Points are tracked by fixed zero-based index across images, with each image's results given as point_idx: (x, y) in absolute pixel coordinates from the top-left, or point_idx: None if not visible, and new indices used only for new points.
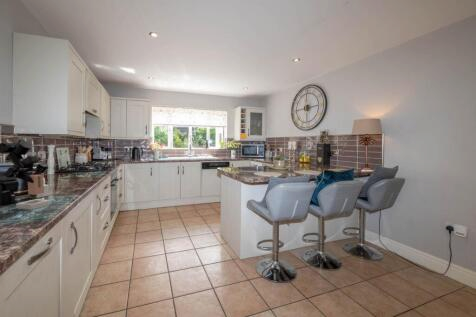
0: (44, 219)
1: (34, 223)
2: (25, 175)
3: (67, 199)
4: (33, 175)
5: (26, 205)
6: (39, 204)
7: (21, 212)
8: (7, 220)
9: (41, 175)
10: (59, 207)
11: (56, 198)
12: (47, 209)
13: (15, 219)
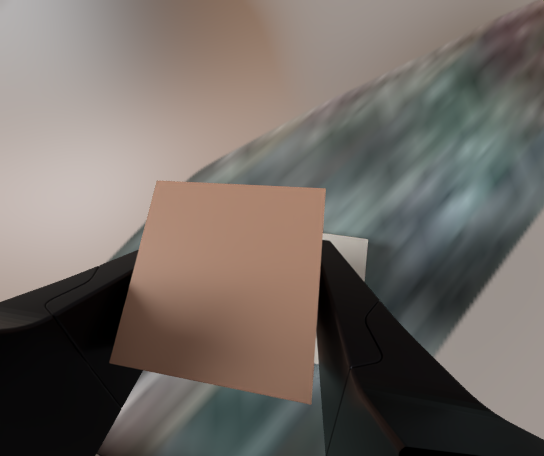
0: (470, 63)
1: (523, 56)
2: (420, 366)
3: None
4: (236, 302)
5: (363, 276)
6: None
7: (411, 252)
8: (537, 195)
9: (189, 184)
10: (302, 147)
11: None
12: (340, 172)
13: (512, 173)
